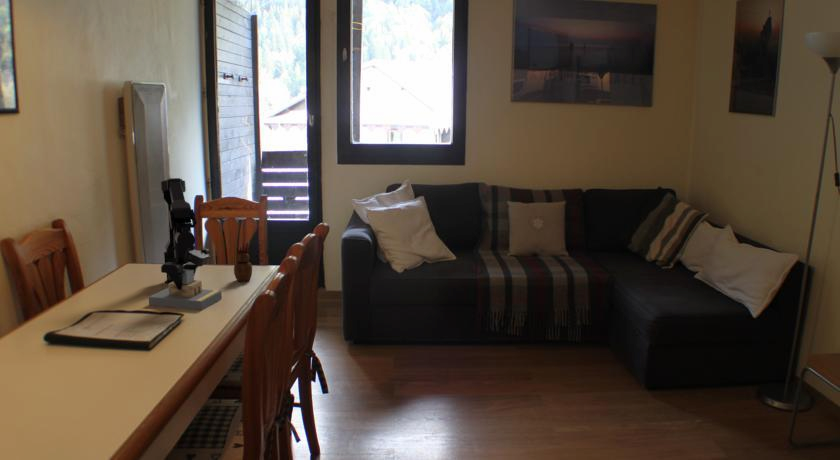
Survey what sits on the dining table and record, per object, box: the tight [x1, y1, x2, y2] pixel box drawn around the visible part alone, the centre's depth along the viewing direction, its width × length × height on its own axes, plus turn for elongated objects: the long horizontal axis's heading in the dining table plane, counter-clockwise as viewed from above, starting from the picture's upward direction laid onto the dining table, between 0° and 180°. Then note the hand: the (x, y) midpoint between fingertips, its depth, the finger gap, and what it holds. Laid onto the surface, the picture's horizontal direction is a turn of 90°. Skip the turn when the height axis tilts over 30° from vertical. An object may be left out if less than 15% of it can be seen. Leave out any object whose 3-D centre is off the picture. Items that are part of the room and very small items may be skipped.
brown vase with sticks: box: [233, 242, 253, 282], centre depth 264 cm, size 7×6×15 cm
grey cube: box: [182, 269, 195, 284], centre depth 235 cm, size 4×4×4 cm
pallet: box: [167, 279, 203, 297], centre depth 236 cm, size 9×6×4 cm, turn 77°
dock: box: [148, 287, 222, 311], centre depth 237 cm, size 20×13×3 cm, turn 77°
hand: (185, 287), depth 236 cm, fingers open, 6 cm apart
